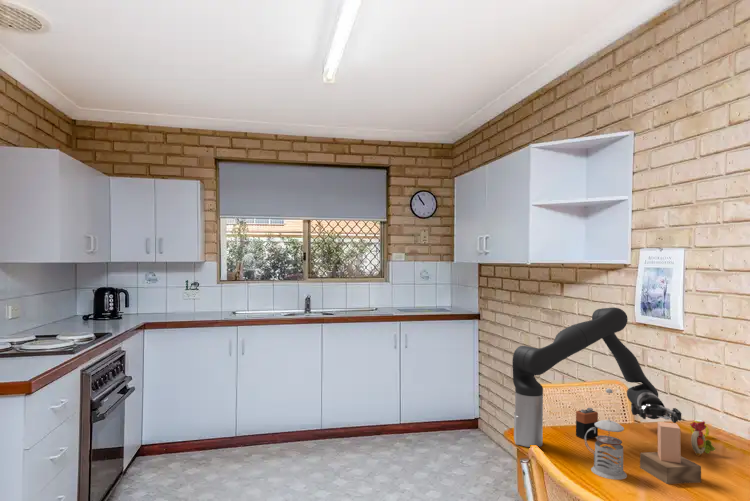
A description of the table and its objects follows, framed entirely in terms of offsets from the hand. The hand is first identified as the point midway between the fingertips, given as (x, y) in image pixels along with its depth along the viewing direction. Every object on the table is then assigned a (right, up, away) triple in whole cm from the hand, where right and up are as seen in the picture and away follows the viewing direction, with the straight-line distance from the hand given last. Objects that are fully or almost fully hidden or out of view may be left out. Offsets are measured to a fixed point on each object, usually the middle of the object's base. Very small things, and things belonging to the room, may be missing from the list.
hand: (659, 417), depth 154 cm
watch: (+29, -15, +23) cm, 40 cm away
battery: (-15, -14, +20) cm, 29 cm away
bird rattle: (+17, -14, +6) cm, 23 cm away
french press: (-22, -13, -10) cm, 28 cm away
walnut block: (-4, -13, -11) cm, 18 cm away
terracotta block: (-4, -8, -11) cm, 14 cm away
